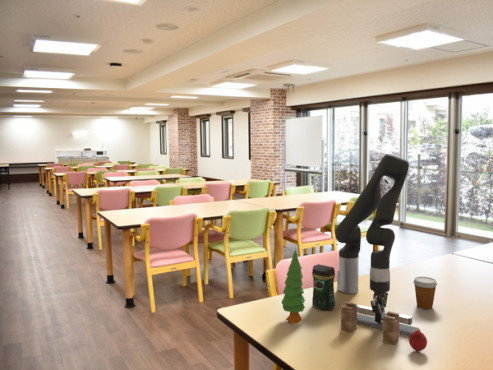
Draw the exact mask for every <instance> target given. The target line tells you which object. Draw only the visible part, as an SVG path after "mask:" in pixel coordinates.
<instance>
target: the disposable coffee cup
mask: <svg viewBox="0 0 493 370" xmlns="http://www.w3.org/2000/svg"><path fill="white" fill-rule="evenodd" d="M413 285H414V291H415V300H416V307H418V308H419V309H423V310H431V309H433V307H434V306H433V305H434V301H435V295H436V288H437V285H438V283H437V280H436V279H435V278H432V277H429V276H416V277H415V278H414V279H413Z"/></svg>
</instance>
